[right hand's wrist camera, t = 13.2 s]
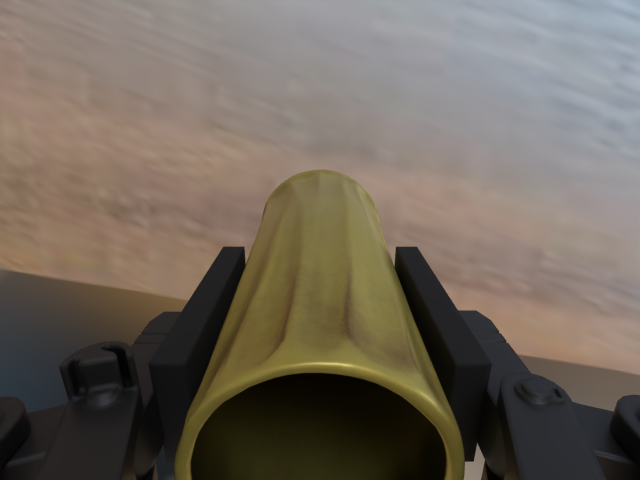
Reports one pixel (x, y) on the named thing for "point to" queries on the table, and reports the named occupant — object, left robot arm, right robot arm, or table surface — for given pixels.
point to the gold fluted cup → (320, 356)
